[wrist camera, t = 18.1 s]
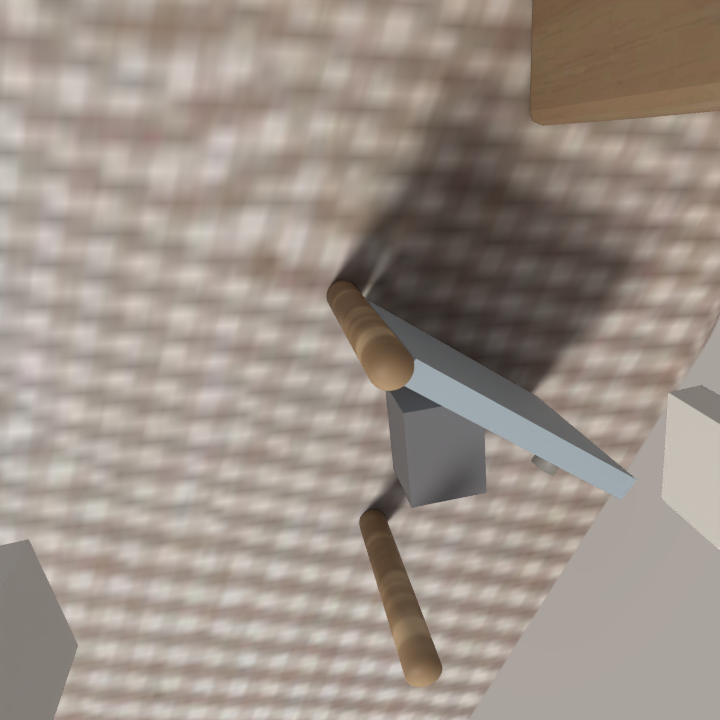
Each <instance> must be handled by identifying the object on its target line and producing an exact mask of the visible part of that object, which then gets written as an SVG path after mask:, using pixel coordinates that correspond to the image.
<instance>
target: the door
mask: <svg viewBox="0 0 720 720" xmlns="http://www.w3.org/2000/svg"><path fill="white" fill-rule="evenodd" d="M367 301H368V303H369V304H370V305H371V306H372V308H373V309H374V310H375V311H376V312H377V314H378V315H379V316H380V317H381V319H382V320H383V321H384V322H385V323H386V325H387V326H388V327H389V328H390V330H391V331H392V332H393V333H394V335H395V336H396V337H397V338H398V339H399V341H400V342H401V343H402V344H403V346H404V347H405V348H406V349H407V350H408V352H409V353H410V354H411V356H412V358H413V360H414V372H413V375H412V377H411V379H410V380H409V382H408V383H407V384H406V385H404V386H405V387H407V388H409V389H411V390H413V391H415V392H417V393H419V394H421V395H422V396H424V397H426V398H428V399H430V400H432V401H434V402H436V403H438V404H440V405H441V406H443V407H445V408H447V409H449V410H451V411H453V412H455V413H457V414H459V415H460V416H462V417H464V418H466V419H468V420H470V421H472V422H474V423H476V424H478V425H480V426H481V427H483V428H485V429H487V430H489V431H491V432H493V433H495V434H497V435H499V436H500V437H502V438H504V439H506V440H508V441H510V442H512V443H514V444H516V445H518V446H519V447H521V448H523V449H525V450H527V451H529V452H531V453H533V454H535V456H534V457H533V459H532V460H531V461H532V462H533V463H534V464H535V465H536V466H537V467H539V468H540V469H541V470H543V471H544V472H546V473H548V474H550V475H553V474H554V473H555V471H556V470H557V469H558V467H559V468H561V469H563V470H565V471H567V472H569V473H571V474H573V475H575V476H577V477H578V478H580V479H582V480H584V481H586V482H588V483H590V484H592V485H594V486H596V487H597V488H599V489H601V490H603V491H605V492H607V493H609V494H611V495H613V496H615V497H617V498H618V499H622V498H623V497H624V495H625V494H626V493H627V491H628V490H629V489H630V488H631V486H632V485H633V484H634V482H635V481H636V479H635V478H634V477H633V476H632V475H630V474H629V473H628V472H627V471H626V470H624V469H623V468H622V467H621V466H620V465H618V464H617V463H616V462H615V461H614V460H612V459H611V458H610V457H609V456H608V455H607V454H605V453H604V452H603V451H602V450H601V449H599V448H598V447H597V446H596V445H595V444H593V443H592V442H591V441H590V440H589V439H587V438H586V437H585V436H584V435H583V434H581V433H580V432H579V431H578V430H577V429H575V428H574V427H573V426H572V425H571V424H569V423H568V422H567V421H566V420H565V419H563V418H562V417H561V416H560V415H559V414H557V413H556V412H555V411H554V410H553V409H551V408H550V407H549V406H548V405H547V404H545V403H544V402H543V401H542V400H541V399H539V398H538V397H537V396H536V395H534V394H532V393H530V392H529V391H527V390H525V389H523V388H522V387H520V386H518V385H516V384H515V383H513V382H511V381H509V380H508V379H506V378H504V377H502V376H501V375H499V374H497V373H495V372H494V371H492V370H490V369H488V368H487V367H485V366H483V365H481V364H480V363H478V362H476V361H474V360H473V359H471V358H469V357H467V356H466V355H464V354H462V353H460V352H458V351H457V350H455V349H453V348H451V347H450V346H448V345H446V344H444V343H443V342H441V341H439V340H437V339H436V338H434V337H432V336H430V335H429V334H427V333H425V332H423V331H422V330H420V329H418V328H416V327H415V326H413V325H411V324H409V323H408V322H406V321H404V320H402V319H401V318H399V317H397V316H395V315H394V314H392V313H390V312H388V311H387V310H385V309H383V308H381V307H380V306H378V305H376V304H374V303H372V302H371V301H369V300H367Z"/></svg>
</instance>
